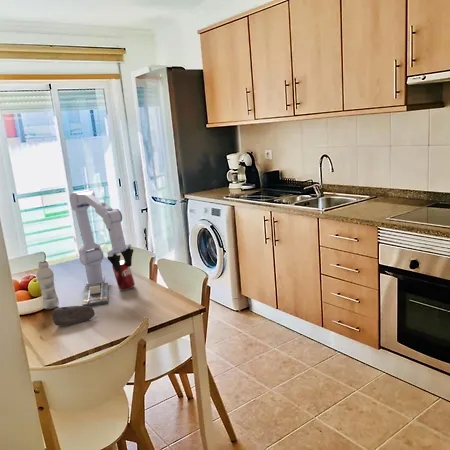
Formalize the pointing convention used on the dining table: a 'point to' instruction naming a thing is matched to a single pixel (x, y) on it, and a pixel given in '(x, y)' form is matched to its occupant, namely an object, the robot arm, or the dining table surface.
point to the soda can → (124, 277)
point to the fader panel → (96, 296)
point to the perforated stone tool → (72, 315)
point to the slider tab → (95, 288)
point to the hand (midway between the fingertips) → (123, 268)
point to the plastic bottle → (47, 285)
